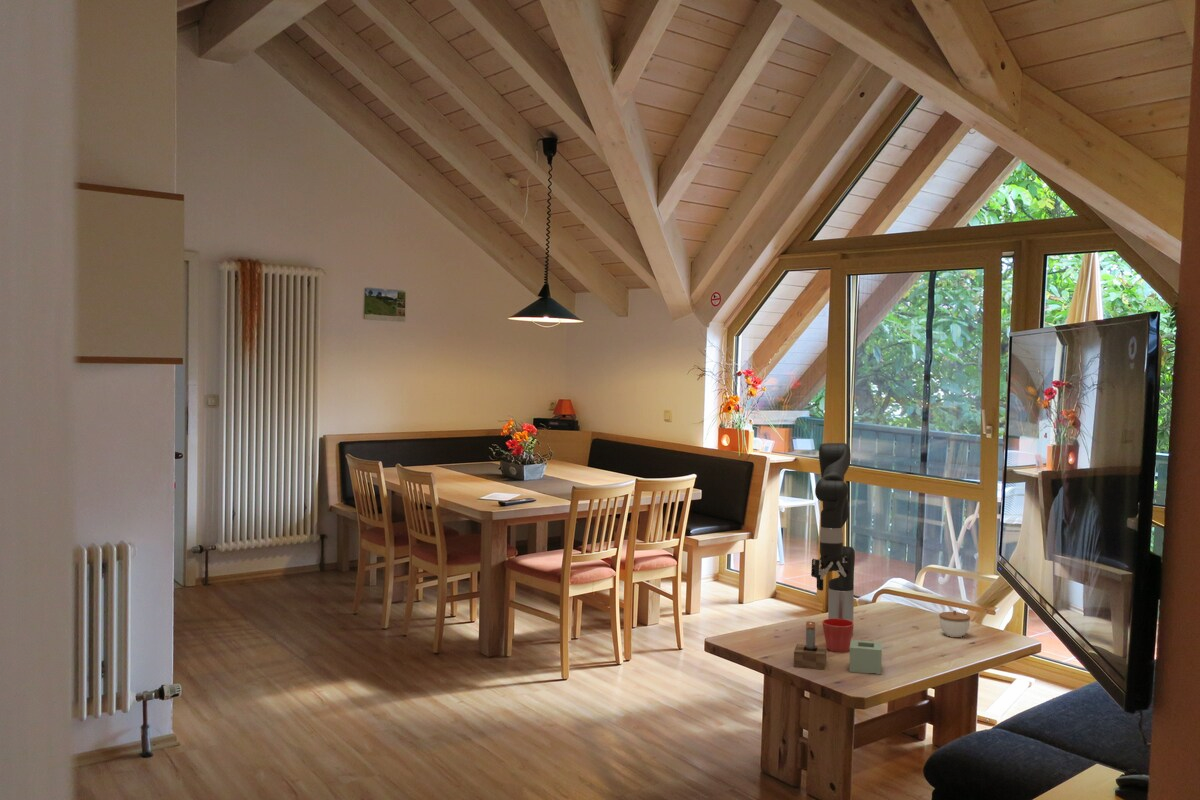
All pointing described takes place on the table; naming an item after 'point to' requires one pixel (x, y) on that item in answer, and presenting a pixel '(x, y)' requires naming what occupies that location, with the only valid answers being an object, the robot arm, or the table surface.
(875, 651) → the block
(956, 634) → the lidded jar
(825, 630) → the flower pot
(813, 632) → the pin
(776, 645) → the table surface
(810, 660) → the mount
